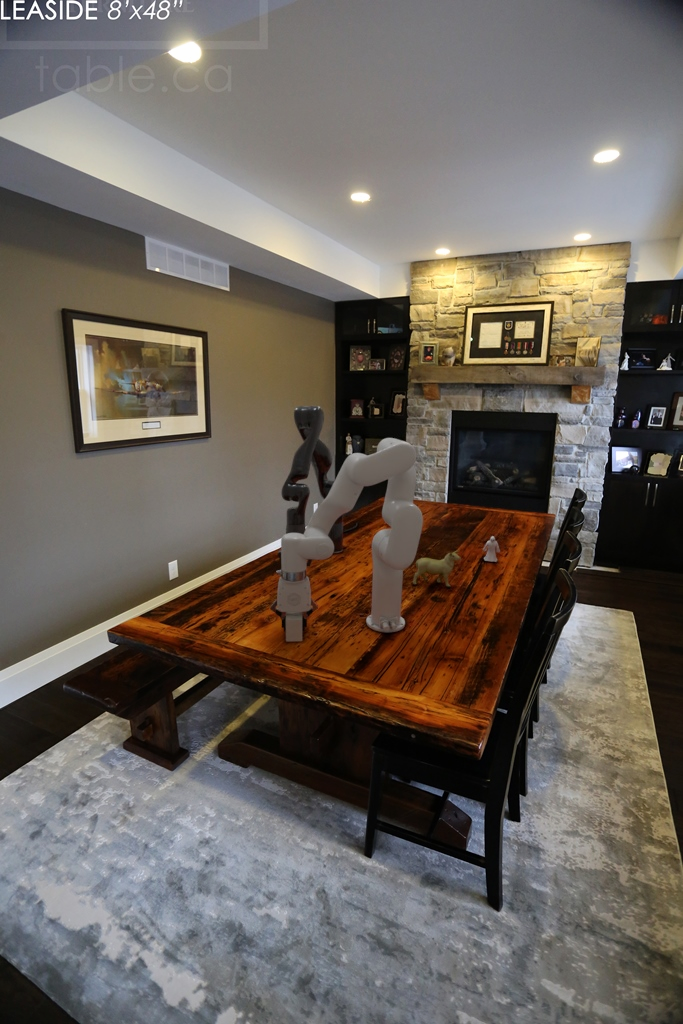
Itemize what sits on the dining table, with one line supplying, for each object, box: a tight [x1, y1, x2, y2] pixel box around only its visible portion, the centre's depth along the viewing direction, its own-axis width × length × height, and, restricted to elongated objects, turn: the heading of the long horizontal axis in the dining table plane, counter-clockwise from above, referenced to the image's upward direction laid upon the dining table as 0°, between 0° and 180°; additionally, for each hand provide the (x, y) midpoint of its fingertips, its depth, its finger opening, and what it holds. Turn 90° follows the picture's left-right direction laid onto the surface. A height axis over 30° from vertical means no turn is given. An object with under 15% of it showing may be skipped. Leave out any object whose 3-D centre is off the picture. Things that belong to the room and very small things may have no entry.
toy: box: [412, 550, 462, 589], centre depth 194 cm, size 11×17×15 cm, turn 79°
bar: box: [285, 612, 303, 643], centre depth 175 cm, size 52×5×7 cm, turn 4°
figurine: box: [482, 535, 501, 563], centre depth 223 cm, size 8×8×12 cm
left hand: (295, 575), depth 196 cm, fingers closed on bar, 5 cm apart
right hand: (294, 628), depth 155 cm, fingers closed on bar, 5 cm apart
